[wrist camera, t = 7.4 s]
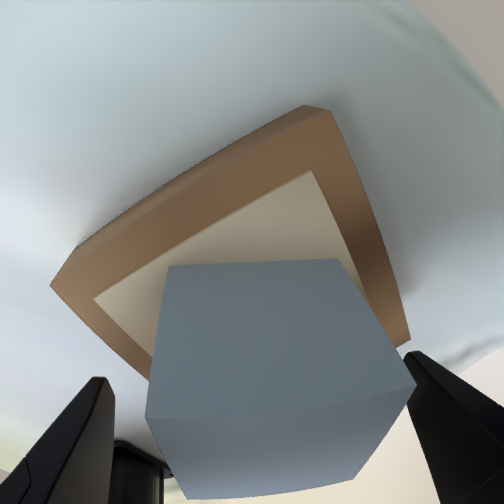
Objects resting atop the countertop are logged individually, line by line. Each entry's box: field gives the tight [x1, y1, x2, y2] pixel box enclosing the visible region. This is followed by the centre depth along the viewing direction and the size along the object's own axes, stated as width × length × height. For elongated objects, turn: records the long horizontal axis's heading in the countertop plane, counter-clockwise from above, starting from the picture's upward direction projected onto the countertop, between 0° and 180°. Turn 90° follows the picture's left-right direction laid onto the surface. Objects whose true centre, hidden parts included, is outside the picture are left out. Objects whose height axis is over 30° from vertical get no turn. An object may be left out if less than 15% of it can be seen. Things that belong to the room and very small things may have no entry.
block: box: [145, 258, 417, 499], centre depth 8 cm, size 5×5×5 cm
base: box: [49, 105, 411, 381], centre depth 12 cm, size 10×10×3 cm
